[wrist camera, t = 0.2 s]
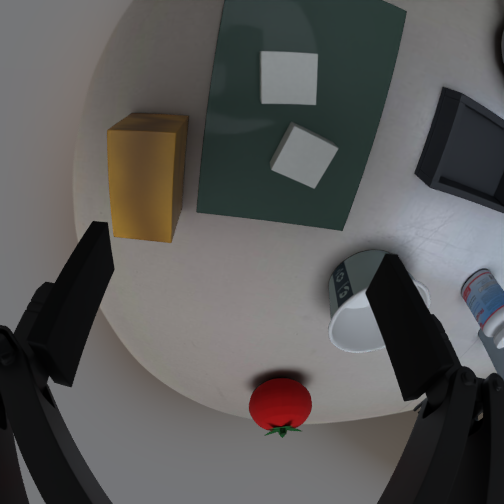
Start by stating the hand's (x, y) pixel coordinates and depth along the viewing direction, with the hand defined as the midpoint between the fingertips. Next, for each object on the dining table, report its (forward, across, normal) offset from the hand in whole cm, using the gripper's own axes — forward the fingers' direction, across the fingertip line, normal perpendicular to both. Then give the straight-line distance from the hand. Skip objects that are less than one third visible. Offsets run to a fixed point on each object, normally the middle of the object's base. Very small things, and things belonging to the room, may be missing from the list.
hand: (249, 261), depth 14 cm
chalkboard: (+14, +4, +5) cm, 16 cm away
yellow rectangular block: (+14, -8, -2) cm, 16 cm away
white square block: (+13, +4, +1) cm, 14 cm away
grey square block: (+13, +2, +7) cm, 15 cm away
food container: (+14, +16, -13) cm, 25 cm away
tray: (+14, +24, +6) cm, 28 cm away
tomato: (+14, +11, -38) cm, 42 cm away
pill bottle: (+14, +38, -12) cm, 42 cm away
